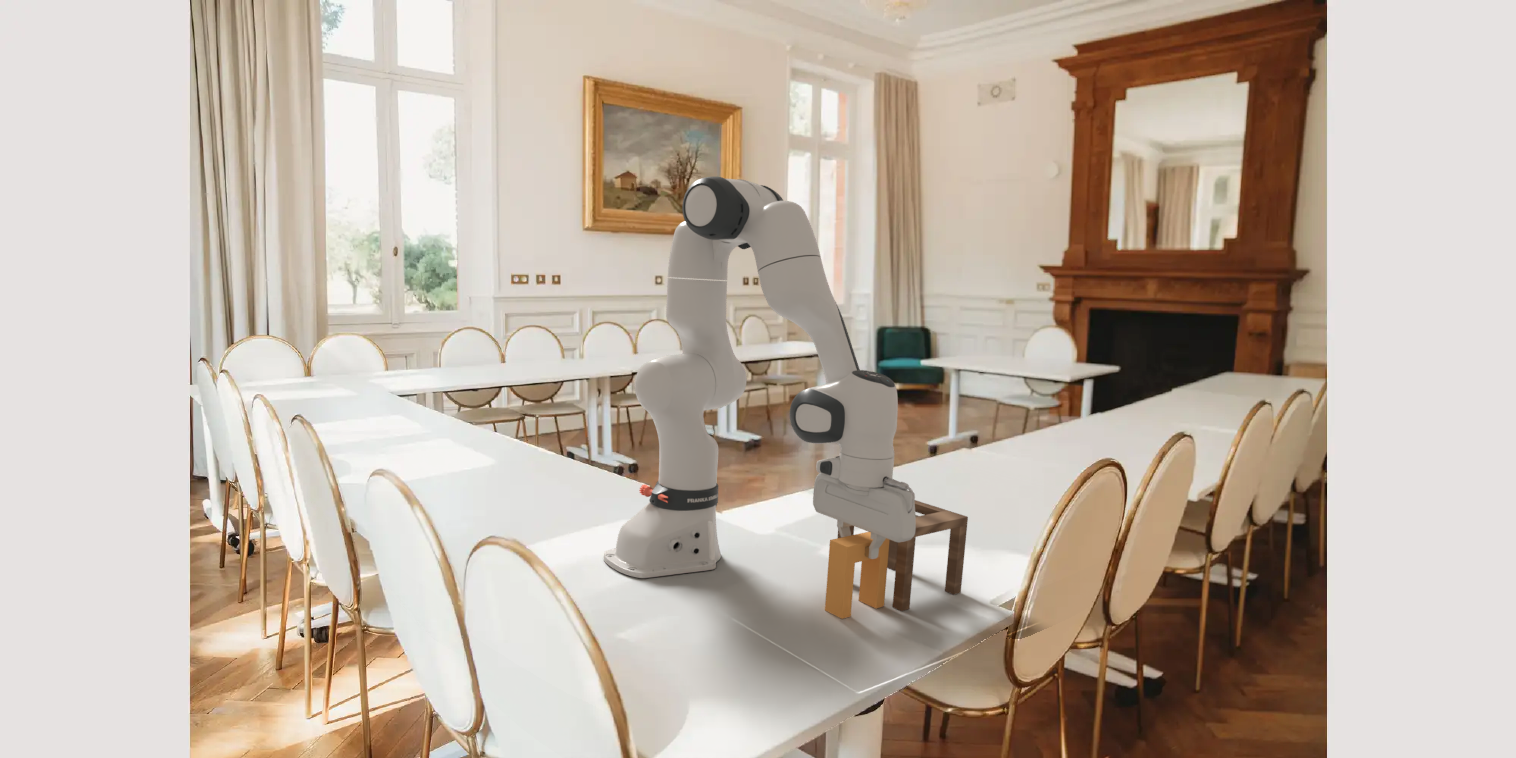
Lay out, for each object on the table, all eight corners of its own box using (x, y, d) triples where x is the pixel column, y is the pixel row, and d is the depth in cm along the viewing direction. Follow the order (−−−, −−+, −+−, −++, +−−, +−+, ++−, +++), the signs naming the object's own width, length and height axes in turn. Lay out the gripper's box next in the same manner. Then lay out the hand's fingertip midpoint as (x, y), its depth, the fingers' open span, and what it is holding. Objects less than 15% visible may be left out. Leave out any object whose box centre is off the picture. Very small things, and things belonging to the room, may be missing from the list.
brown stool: (901, 611, 137) (908, 529, 135) (834, 580, 149) (839, 505, 147) (960, 592, 147) (967, 516, 145) (893, 565, 159) (899, 495, 158)
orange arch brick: (842, 618, 132) (847, 546, 131) (824, 610, 135) (830, 539, 134) (884, 606, 139) (889, 537, 137) (866, 598, 142) (872, 530, 140)
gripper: (928, 483, 128) (920, 568, 130) (836, 456, 144) (830, 532, 145) (901, 488, 124) (893, 575, 126) (809, 459, 140) (804, 538, 141)
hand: (859, 552), depth 136 cm, fingers closed on orange arch brick, 4 cm apart
